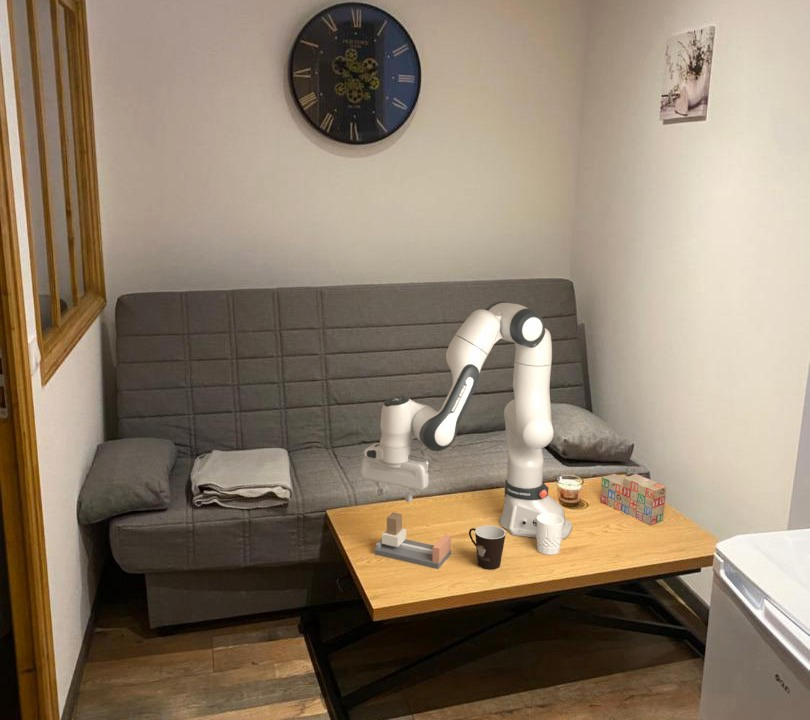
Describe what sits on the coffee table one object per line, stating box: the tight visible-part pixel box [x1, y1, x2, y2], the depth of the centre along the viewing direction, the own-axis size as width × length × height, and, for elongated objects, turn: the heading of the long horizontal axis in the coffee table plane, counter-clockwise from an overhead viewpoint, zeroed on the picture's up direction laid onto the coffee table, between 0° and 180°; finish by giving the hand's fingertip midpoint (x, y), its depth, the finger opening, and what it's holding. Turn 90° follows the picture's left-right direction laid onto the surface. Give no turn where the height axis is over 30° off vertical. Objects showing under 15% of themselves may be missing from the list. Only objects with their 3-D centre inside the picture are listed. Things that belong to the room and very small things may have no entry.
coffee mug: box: [468, 524, 507, 571], centre depth 232 cm, size 12×9×10 cm
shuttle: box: [381, 511, 407, 547], centre depth 238 cm, size 5×6×8 cm
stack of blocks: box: [599, 473, 667, 527], centre depth 267 cm, size 21×6×12 cm, turn 34°
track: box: [373, 534, 452, 570], centre depth 237 cm, size 20×10×6 cm, turn 66°
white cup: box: [536, 513, 564, 556], centre depth 240 cm, size 8×8×10 cm
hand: (393, 497), depth 236 cm, fingers open, 8 cm apart
